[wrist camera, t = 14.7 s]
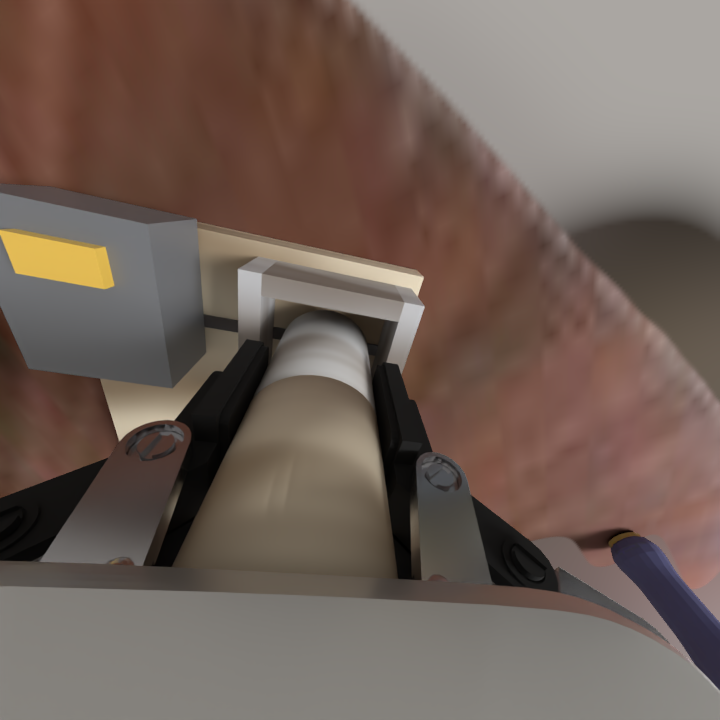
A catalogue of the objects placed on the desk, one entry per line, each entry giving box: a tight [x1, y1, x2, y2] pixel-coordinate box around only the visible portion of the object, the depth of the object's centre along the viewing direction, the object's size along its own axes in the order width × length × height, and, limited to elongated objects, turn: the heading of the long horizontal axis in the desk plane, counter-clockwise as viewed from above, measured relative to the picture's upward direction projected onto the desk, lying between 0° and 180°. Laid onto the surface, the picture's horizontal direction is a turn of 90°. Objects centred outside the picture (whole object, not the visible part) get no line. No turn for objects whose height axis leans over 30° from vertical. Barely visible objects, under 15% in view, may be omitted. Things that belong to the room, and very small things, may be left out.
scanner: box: [0, 184, 206, 389], centre depth 10 cm, size 6×5×3 cm
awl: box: [172, 310, 398, 579], centre depth 8 cm, size 4×4×10 cm
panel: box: [100, 222, 425, 441], centre depth 15 cm, size 18×15×4 cm
